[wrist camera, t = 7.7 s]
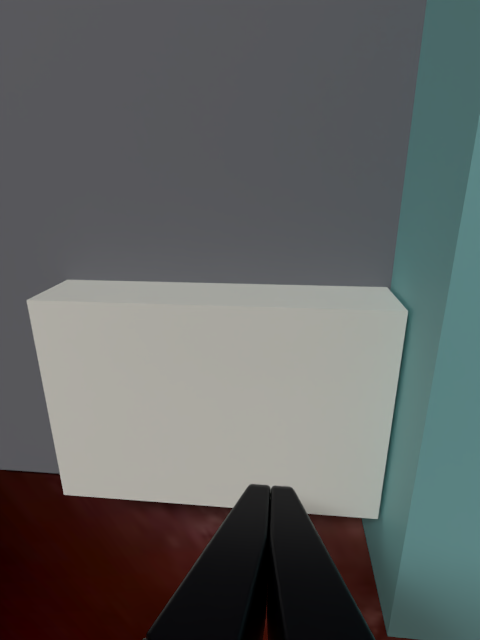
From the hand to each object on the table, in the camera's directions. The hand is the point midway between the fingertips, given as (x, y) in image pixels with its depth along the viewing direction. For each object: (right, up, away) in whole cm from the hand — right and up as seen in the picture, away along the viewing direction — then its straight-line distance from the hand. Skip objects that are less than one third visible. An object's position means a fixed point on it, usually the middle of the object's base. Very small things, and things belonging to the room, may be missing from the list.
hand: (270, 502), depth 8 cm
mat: (-3, +5, +4) cm, 7 cm away
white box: (-1, +2, +5) cm, 5 cm away
